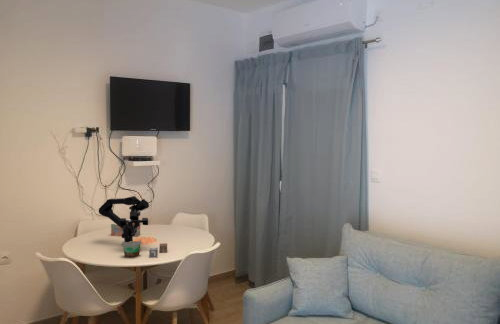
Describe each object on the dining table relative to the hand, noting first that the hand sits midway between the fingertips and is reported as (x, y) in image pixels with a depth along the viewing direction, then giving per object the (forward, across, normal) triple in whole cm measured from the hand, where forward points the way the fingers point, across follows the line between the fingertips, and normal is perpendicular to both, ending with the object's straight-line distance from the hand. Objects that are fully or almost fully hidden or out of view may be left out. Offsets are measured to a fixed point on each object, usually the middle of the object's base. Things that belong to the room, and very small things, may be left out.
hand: (133, 232), depth 249 cm
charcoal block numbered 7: (+17, +14, +3) cm, 22 cm away
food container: (+16, 0, +3) cm, 16 cm away
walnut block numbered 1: (+10, +20, +9) cm, 24 cm away
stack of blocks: (-20, -10, +40) cm, 46 cm away
